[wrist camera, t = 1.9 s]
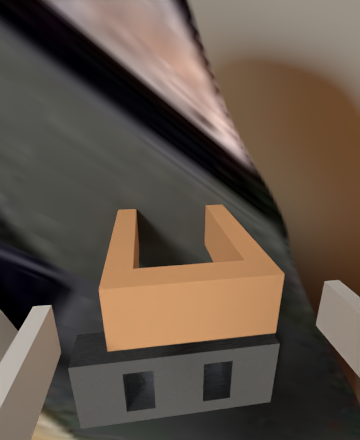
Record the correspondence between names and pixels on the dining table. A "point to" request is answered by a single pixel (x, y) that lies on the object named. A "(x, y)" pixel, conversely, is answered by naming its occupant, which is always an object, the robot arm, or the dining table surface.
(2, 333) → the bracket
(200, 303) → the clip
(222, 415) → the dining table surface
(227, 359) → the grey slotted block
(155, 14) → the dining table surface
